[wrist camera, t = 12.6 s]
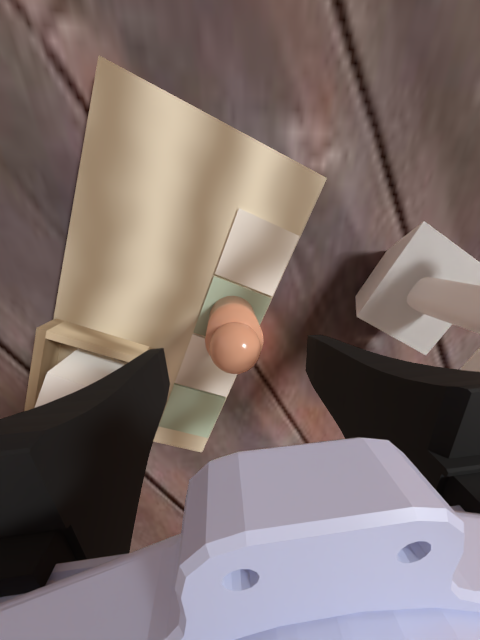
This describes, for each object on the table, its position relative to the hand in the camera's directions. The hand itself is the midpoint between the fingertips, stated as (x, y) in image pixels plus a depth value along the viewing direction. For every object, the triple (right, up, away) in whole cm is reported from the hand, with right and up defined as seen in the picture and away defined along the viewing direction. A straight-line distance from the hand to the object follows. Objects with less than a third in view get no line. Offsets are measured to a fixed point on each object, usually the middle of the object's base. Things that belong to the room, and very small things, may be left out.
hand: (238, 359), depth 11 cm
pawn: (-1, +2, +7) cm, 7 cm away
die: (-12, -3, +8) cm, 14 cm away
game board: (-6, +3, +7) cm, 10 cm away
